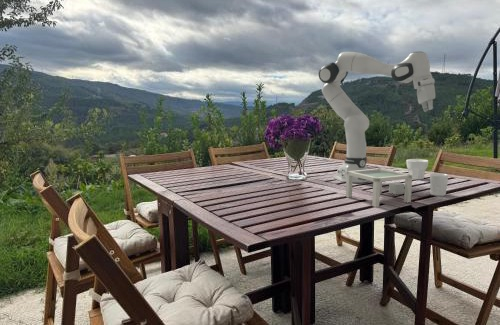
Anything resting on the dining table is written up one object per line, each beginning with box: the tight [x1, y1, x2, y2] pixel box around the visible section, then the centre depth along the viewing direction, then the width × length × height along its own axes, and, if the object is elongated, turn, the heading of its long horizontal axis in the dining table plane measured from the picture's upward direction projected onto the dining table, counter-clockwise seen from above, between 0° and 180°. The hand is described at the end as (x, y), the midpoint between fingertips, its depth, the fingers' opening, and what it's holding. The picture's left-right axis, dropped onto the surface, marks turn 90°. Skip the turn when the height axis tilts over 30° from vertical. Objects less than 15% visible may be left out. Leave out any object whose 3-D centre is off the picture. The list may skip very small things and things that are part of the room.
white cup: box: [429, 172, 449, 197], centre depth 185 cm, size 8×8×10 cm
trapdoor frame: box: [345, 168, 413, 208], centre depth 175 cm, size 21×20×13 cm
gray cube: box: [388, 181, 405, 195], centre depth 189 cm, size 5×5×5 cm
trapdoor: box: [358, 171, 397, 181], centre depth 175 cm, size 14×14×3 cm
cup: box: [405, 158, 429, 180], centre depth 227 cm, size 12×12×11 cm
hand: (428, 110), depth 188 cm, fingers open, 8 cm apart
